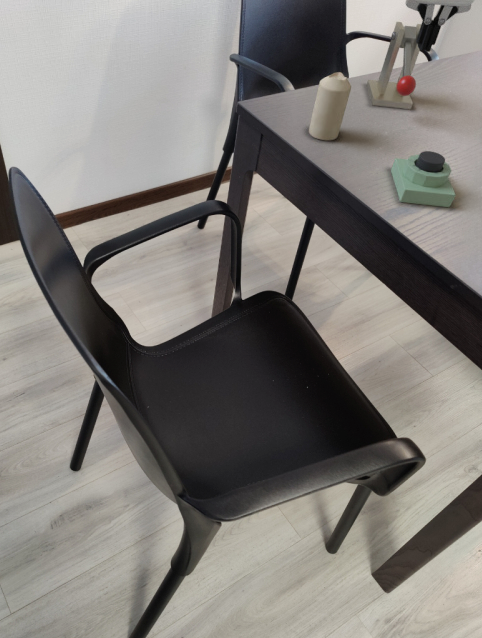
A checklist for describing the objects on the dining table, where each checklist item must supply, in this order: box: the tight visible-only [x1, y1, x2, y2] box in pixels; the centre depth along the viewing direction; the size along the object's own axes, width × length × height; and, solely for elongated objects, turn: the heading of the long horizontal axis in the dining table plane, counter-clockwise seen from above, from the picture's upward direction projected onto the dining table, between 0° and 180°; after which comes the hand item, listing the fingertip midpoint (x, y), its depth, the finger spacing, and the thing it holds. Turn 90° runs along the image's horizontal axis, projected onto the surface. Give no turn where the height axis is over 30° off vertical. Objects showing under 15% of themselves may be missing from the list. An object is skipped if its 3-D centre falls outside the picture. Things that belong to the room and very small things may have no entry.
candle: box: [308, 71, 352, 141], centre depth 90 cm, size 6×6×10 cm
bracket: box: [366, 21, 422, 110], centre depth 101 cm, size 10×8×13 cm
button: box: [416, 150, 446, 173], centre depth 80 cm, size 4×4×2 cm
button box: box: [390, 153, 456, 208], centre depth 82 cm, size 8×10×4 cm
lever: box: [396, 25, 417, 96], centre depth 96 cm, size 14×3×3 cm, turn 175°
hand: (423, 48), depth 90 cm, fingers closed
